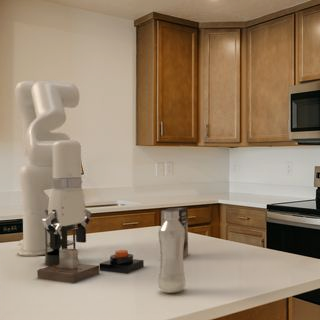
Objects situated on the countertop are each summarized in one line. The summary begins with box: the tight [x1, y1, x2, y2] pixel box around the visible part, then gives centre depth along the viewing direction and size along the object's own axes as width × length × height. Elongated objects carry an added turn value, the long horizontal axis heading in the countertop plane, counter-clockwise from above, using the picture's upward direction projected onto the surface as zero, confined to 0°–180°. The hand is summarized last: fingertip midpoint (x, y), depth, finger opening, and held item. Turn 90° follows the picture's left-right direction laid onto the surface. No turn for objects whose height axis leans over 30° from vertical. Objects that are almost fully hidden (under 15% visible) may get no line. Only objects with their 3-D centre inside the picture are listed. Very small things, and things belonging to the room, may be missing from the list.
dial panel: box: [36, 262, 100, 284], centre depth 127 cm, size 13×10×3 cm
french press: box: [44, 210, 76, 267], centre depth 144 cm, size 12×9×23 cm
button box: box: [98, 253, 145, 275], centre depth 135 cm, size 10×8×4 cm
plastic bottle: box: [157, 210, 186, 294], centre depth 112 cm, size 6×7×20 cm
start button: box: [114, 249, 129, 257], centre depth 135 cm, size 4×4×2 cm
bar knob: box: [59, 248, 79, 269], centre depth 127 cm, size 5×2×5 cm, turn 67°
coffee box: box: [160, 207, 189, 259], centre depth 150 cm, size 9×6×16 cm
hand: (68, 245), depth 127 cm, fingers open, 9 cm apart
